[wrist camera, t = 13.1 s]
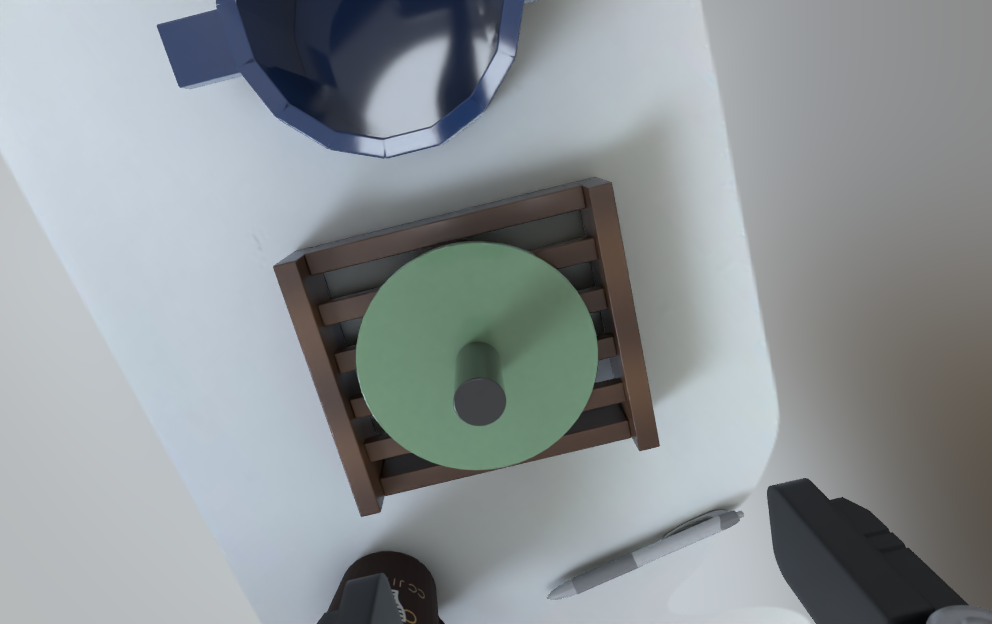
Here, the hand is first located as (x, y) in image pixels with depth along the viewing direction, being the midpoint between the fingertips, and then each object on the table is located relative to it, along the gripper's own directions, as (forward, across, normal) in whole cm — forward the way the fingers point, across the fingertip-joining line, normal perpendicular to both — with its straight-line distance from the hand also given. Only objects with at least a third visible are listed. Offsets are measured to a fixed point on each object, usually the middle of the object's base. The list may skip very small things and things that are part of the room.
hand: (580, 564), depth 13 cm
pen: (+24, -5, +20) cm, 31 cm away
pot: (+24, +3, -14) cm, 28 cm away
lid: (+20, +2, +3) cm, 21 cm away
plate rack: (+24, +2, +3) cm, 24 cm away
